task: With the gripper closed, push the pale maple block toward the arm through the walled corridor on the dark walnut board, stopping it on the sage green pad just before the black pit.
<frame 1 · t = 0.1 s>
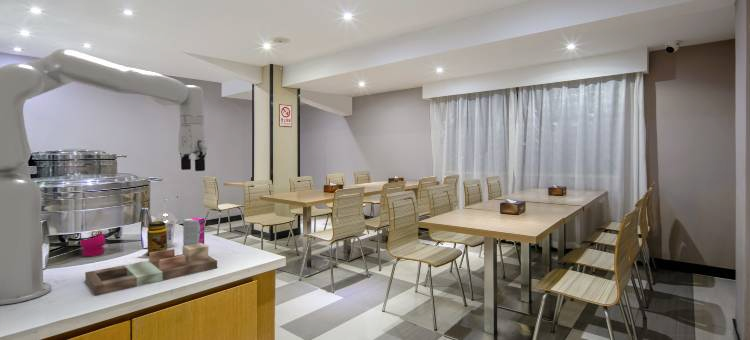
hand: (192, 170, 128), 31 cm above the counter, tool pointing down, fingers open, 9 cm apart
condiment: (155, 255, 132), on the counter
cup with straw: (166, 247, 143), on the counter
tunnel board: (155, 274, 112), on the counter
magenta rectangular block: (93, 254, 132), on the counter
maple block: (195, 258, 121), point 2 cm above the counter, touching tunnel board
supplement box: (194, 248, 142), on the counter
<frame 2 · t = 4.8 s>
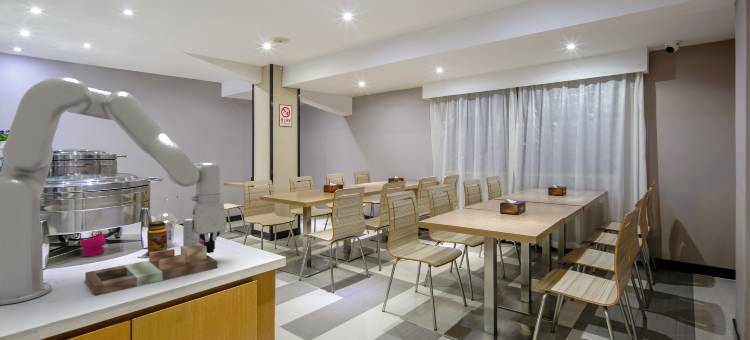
hand: (209, 252, 124), 4 cm above the counter, tool pointing down, fingers closed
maple block: (193, 258, 120), point 3 cm above the counter, touching gripper
everything else where it was.
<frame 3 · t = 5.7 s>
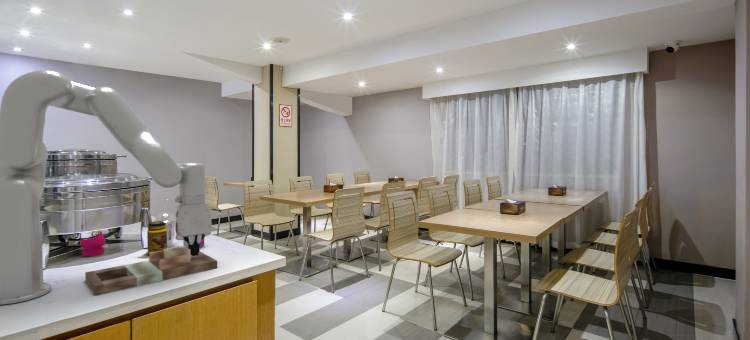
hand: (194, 254, 120), 4 cm above the counter, tool pointing down, fingers closed
maple block: (177, 261, 117), point 3 cm above the counter, touching gripper
everything else where it was.
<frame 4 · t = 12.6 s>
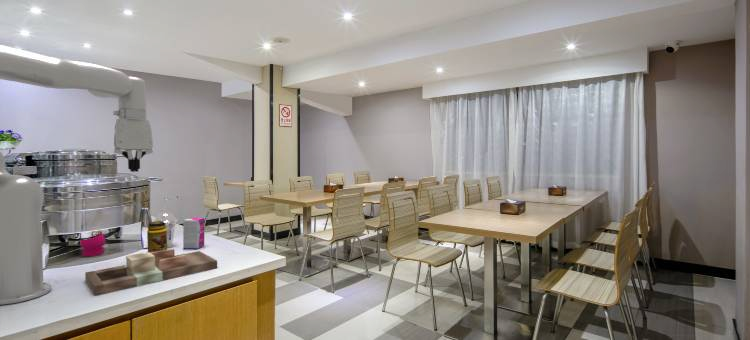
hand: (134, 171, 120), 31 cm above the counter, tool pointing down, fingers closed
maple block: (140, 269, 109), point 2 cm above the counter, touching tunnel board
everything else where it was.
at the end: maple block 0.6 cm from the target spot on the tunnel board, point 2.5 cm above the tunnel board's base; maple block tilted 0° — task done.
